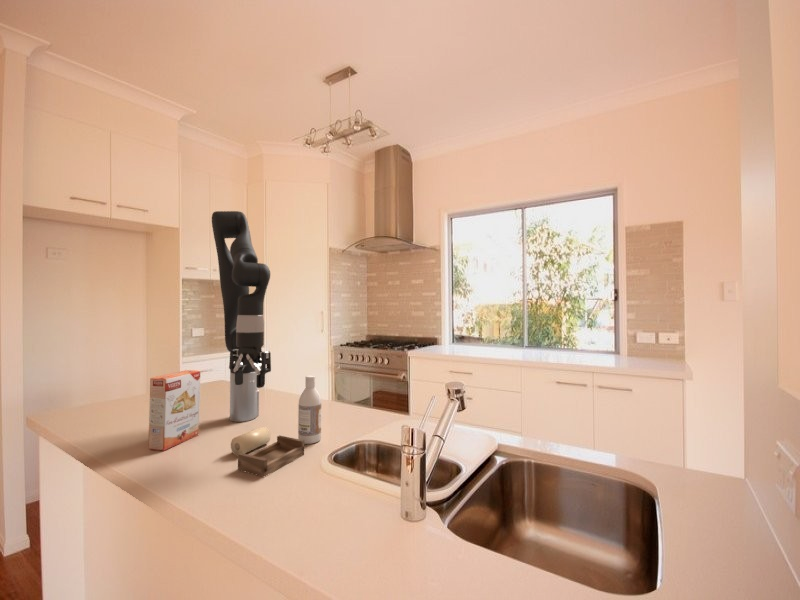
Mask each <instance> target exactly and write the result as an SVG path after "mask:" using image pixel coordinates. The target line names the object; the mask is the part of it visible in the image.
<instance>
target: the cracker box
mask: <svg viewBox="0 0 800 600" xmlns="http://www.w3.org/2000/svg"><path fill="white" fill-rule="evenodd" d="M149 380H150V381H149V413H148V414H149V415H148V416H149V417H148V449H149V450H154V451H163V452H165V451H166V450H168V449H171V448H173V447H174V446H177V445H179V444H181V442H182V443H184V442H185V441H188V440H190V439H192V438H195V437H197V436H199V435H198V434H199V433H200V403H201V402H200V400H201V398H200V397H201V396H200V395H201V370H191V369H190V370H189V369H188V370H187V369H185V370H180V371H177V372H172V373H167V374H164V375H158V376H155V377H150V379H149ZM196 435H197V436H196ZM194 436H195V437H194Z"/></svg>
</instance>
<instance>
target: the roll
mask: <svg viewBox="0 0 800 600" xmlns="http://www.w3.org/2000/svg"><path fill="white" fill-rule="evenodd" d="M270 441H271V432H270V430H269V429H268V427H266V426H260V427H258V428H256V429H253V430H250V431H248V432H245V433H242V434H240V435H238V436H235V437H233V438H232V439H231V441H230V450H231V452H232V453H233V454H234V455H235V456H238V454H240V453H244V454H247V453H249V452H251V450H252V451H254V450H256V449H259V448H260V447H262V446H265V445H266V444H268V443H269V442H270Z"/></svg>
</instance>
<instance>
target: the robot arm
mask: <svg viewBox="0 0 800 600" xmlns="http://www.w3.org/2000/svg"><path fill="white" fill-rule="evenodd" d="M211 227H212V232H213V239H214V243H215V248H216V255H217V262H218V271H219V272H218V273H219V282H220V283H219V284H220V291H221V296H222V297H221V298H222V305H223V316H224V341H225V346H226V350H227V351H228V352H229V365H228V366H229V368H228V369H229V370H230V371H229V372H230V373H229V420H230V421H231V422H237V423H238V422H248V421H251V420H252V421H253V420H255V419H256V418H257V417H258V416H260V415H259V414H260V390H259V389H260V388H261V389H262V388H264V387H265V385H266V374H268V373H271V372H272V363H271V362H272V358H271V356H272V355H271V351H268V350H267V351H263V349H262V348H263V347H264V343H265V320H264V302H265V296H266V293H267V289H268V286H269V283H270V279H271V271H270V267H269V266H268V265H267V264H265V263H261V262H259V260H258V259H259V258H258V256H257V253H256V251H255V249H254V247H253V243H252V237H251V232H250V227H249V223H248V219H247V217H246V215H245V214H244V213H243V212H242V211H238V210H237V211H236V210H224V211H223V210H222V211H221V210H220V211H216V210H215V211H214V212H212V213H211ZM226 239H234V240H233V241H232V243H231V245H230V247H229V248H230V249H229V248H228V246H227V243H226ZM250 287H252V288H253V287H255V290H254V291H253V292H252V293H250Z"/></svg>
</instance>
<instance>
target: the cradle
mask: <svg viewBox="0 0 800 600" xmlns="http://www.w3.org/2000/svg"><path fill="white" fill-rule="evenodd" d="M304 455H305V444H304V440H299V439H298V438H294V437H290V436H284V435H280V434H279V435H277V437H276V442H273V443H272V444H269V445H268V446H265V447H262V448H261V449H259V450H257V451H254V452H253V453H250V454H247V453H245V454H244V453H240V454H238V455H237V471H240V470H242V471H241V472H244V471H246V472H245V473H248V472H249V474H251V473H253V474H252V475H255V474H257V475H256V476H259V475H260V476H259V477H262V476H265V477H267V476H268V474H269V475H270V473H271V474H272V473H273V472H276V471H278V470H279V469H281V468H283V467H285V466H286V465H288V464H290V463H292V462H293V461H295V460H297V459H299V458H300V457H302V456H304ZM277 469H278V470H277ZM266 475H267V476H266Z"/></svg>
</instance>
